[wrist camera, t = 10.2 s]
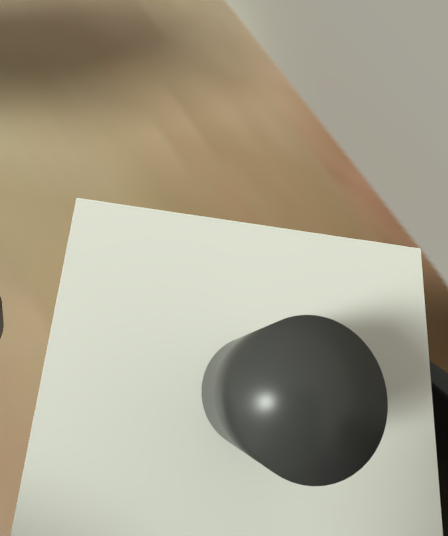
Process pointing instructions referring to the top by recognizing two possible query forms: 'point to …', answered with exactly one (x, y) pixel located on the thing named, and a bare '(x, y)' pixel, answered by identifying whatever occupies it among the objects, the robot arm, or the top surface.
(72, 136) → the top surface
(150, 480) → the charger
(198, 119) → the top surface
